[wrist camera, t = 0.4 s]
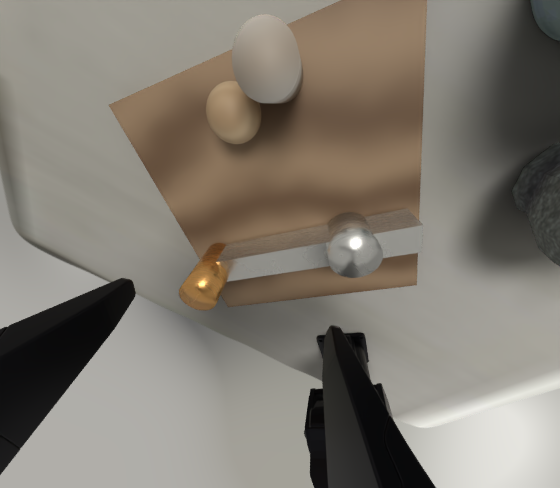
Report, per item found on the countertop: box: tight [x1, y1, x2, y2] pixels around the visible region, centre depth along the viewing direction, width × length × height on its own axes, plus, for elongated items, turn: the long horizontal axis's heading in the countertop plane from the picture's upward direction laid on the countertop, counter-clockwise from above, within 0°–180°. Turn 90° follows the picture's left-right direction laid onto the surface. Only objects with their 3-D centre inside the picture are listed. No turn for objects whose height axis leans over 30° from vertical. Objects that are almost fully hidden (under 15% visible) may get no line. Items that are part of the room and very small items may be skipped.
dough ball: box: [206, 81, 261, 144], centre depth 14 cm, size 4×4×4 cm
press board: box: [109, 0, 427, 307], centre depth 18 cm, size 23×22×7 cm
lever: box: [179, 208, 423, 310], centre depth 19 cm, size 20×4×6 cm, turn 107°
